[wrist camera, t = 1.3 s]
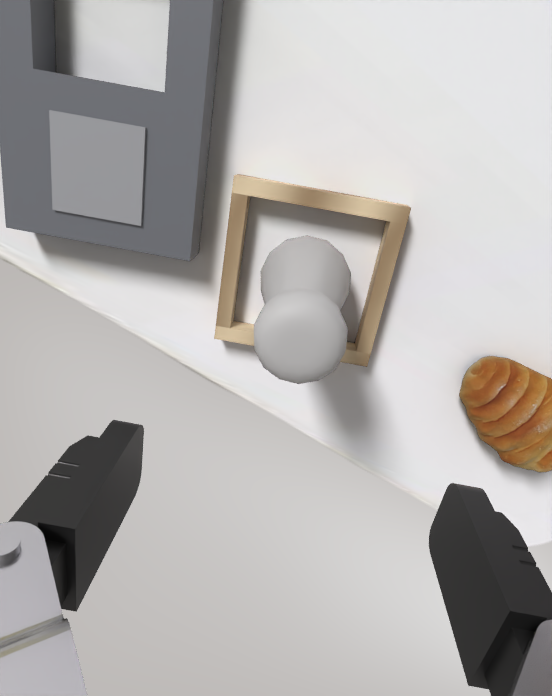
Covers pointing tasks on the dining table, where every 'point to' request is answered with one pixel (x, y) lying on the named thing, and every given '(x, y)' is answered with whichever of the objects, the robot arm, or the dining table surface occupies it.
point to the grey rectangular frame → (107, 137)
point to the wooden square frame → (320, 199)
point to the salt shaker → (302, 310)
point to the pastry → (511, 410)
